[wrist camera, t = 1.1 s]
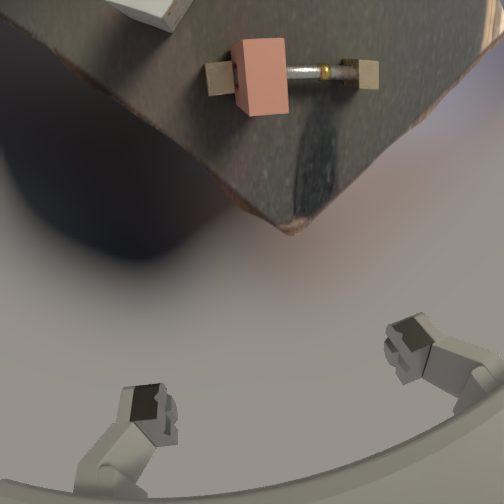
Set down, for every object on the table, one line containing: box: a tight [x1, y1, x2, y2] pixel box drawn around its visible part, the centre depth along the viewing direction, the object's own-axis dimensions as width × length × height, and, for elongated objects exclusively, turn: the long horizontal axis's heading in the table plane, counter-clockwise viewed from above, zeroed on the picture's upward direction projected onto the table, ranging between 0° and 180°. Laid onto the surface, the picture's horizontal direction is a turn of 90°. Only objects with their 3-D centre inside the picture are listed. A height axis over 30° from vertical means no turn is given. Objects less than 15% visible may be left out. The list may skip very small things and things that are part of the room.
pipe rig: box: [204, 59, 379, 96], centre depth 34 cm, size 22×4×5 cm, turn 95°
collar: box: [230, 38, 289, 116], centre depth 31 cm, size 4×8×10 cm, turn 5°
